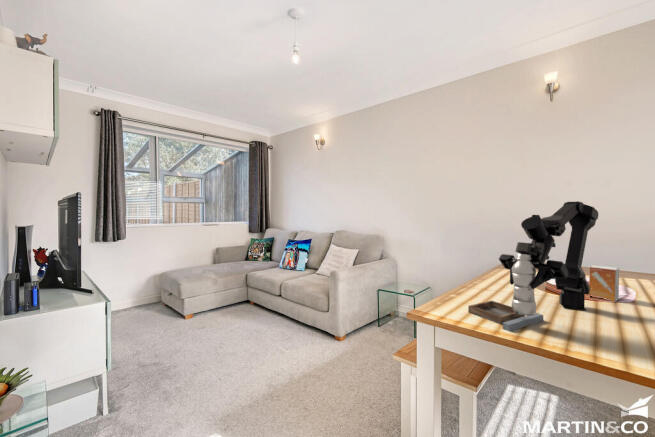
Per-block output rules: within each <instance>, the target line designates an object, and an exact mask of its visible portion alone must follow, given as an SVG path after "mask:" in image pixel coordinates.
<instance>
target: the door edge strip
mask: <svg viewBox="0 0 655 437" xmlns="http://www.w3.org/2000/svg"><path fill="white" fill-rule="evenodd" d="M543 321H544V314H541V313H538V312H536V313H535V314H534V315H532V316H526V315H525V317H521V318H518V319H514V320H510V321H507V322H503V324H502V330H505V331H508V332H511V331H513V330H517V329H521V328H524V327H527V326H530V325H534V324H537V323H540V322H543Z"/></svg>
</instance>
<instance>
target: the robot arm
mask: <svg viewBox="0 0 655 437" xmlns="http://www.w3.org/2000/svg"><path fill="white" fill-rule="evenodd" d="M598 219H599V211H598V210H597V209H596V208H595V207H594V206H591V205H589V204H588V205H587V204H585V203H584V202H583V201H567V202H564V203H563V205H562V206H561V207H560V208H559V209H558V210H556V211H555V212H554V213H553V214H552V215H550V216H544V217H542V218H541V216H540V214H532V215H531V216H530V217H527V218H525V219H524V220H522V222H521V224H520V225H521V227H522V229H523V230H524V233H525V234H526V236H527V238H528V239H529V240H532V241H531V242H523V241H521V242H520V241H518V242H516V243H517V244H516V247H515V252H516V253H527V254H531V260H530V262H531V263H532V264H533V266H534V267H535V269H536V270H537V272H536V275H535V279H534V280H533V282H532V285H531V288H532V289H534V290H535V289H536V288H538V287H539V286H541V285H543V284H544V283H547V282H548V281H551V280H554V282H555V288H556V290H561V291H560V292H559V294H558V295H559V300H558V301H559V303H558V304H559V305H561V306H562V307H563V308H564V309H568V310H577V311H587V308H586V307H585V297H586V296H585V295H589V291H590V286H589V282H588V281H587V279H586V274H585V272H584V269H583V268H582V264H583V259H584V254H585V248H586V244H587V237H588V232H589V231H590V230H591V229H592V228H594V227H595V225H596V222H597V220H598ZM568 223H569V224H570V226H571V231H570V237H569V241H568V247H567V253H566V258H565V262H563V261H560V260H554V259H552V260H551V259H550V256H549V254H550V252H551V250H552V248H556V243H555V238H554V237H561V236H562V235H563V234H564V233H565V231H566V230H567V228H566V224H568ZM498 260H499V262H500V263H501V265H502V266H503V268H504V269H505V270H509V284H510V285H514V283H513V275H512V266H513V265H514V264H515V263H516V262H517V260H518V259H517V257H515V255H513V254H506V253H505V254H504V253H502V254H501V255H499V258H498ZM545 262H546V263H545Z"/></svg>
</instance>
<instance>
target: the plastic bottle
mask: <svg viewBox="0 0 655 437" xmlns="http://www.w3.org/2000/svg"><path fill="white" fill-rule="evenodd" d="M516 259H517V262H516V263H515V264H514V265H513V266H512V275H513V295H512V296H513V298H512V300H511V307H512V309H513V311H514V312H515V313H517V314H520V315H525V316H532V315H534V314H535V313H537V309H538V308H537V302H536V298H535V289H532V288H531V285H532V282H533V280H534V279H535V277H536V275H537V269H535V267H534V266H533V264H532V263H531V262H530V260H531V254H527V253H518V252H516Z"/></svg>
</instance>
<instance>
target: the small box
mask: <svg viewBox="0 0 655 437" xmlns="http://www.w3.org/2000/svg"><path fill="white" fill-rule="evenodd" d="M588 276H589V278H588V280H589V281H588V285H589V286H590V291H589V294H591V295H595V296H599V297H603V298H606V299H610V300H609V302H614V303H616V302H617V300H616V299H617V298H618V297H619V295H620V288H619V287H620V268H619V267H614V266H612V267H611V266H606V265H605V266H604V265H596V264H593V265H591V266H589V274H588ZM589 294H588V295H589ZM619 298H620V297H619ZM619 298H618V299H619Z"/></svg>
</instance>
